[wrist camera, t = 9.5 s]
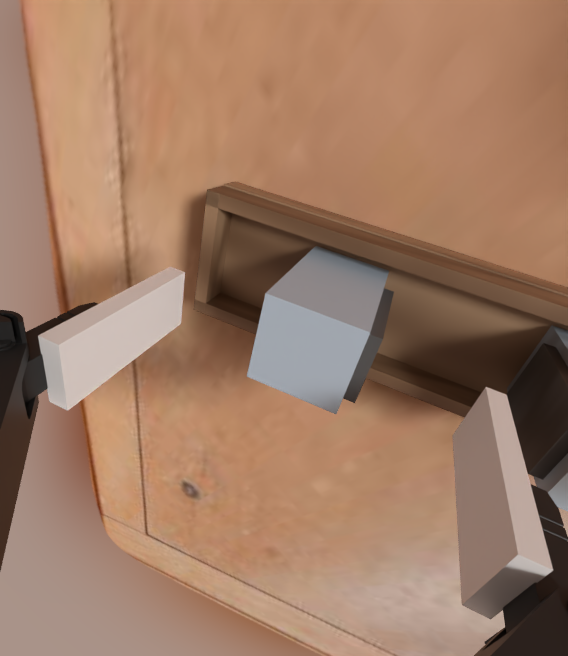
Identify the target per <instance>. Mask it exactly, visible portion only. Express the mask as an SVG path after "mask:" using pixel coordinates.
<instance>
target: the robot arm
mask: <svg viewBox="0 0 568 656" xmlns="http://www.w3.org/2000/svg"><path fill="white" fill-rule="evenodd" d="M184 280H185V272H183V271H180V270H178V269H175V268H173V267H169V268H167V269H165V270H163V271H161V272H159V273H157V274H155V275H153V276H151V277H149V278H147V279H146V280H144V281H142V282H140V283H138V284H136V285H134V286H132V287H130V288H128V289H126V290H124V291H123V292H121V293H119V294H117V295H115V296H113V297H111V298H109V299H107V300H105V301H103V302H101V303H100V304H97V303H95V302H93V303H89V304H84V305H80V306H78V307H76V308H74V309H72V310H70V311H68V312H67V313H64V314H62V315H60V316H58V317H57V318H54V319H52V320H50V321H48V322H46V323H44V324H42V325H40V326H38V327H36V328H33V329H31V330H29V331H27V332H25V327H24V322H23V318H22V316H21V315H20V314H18V313H16V312H13V311H6V310H0V570H1V566H2V561H3V557H4V553H5V548H6V544H7V539H8V535H9V531H10V526H11V522H12V518H13V513H14V509H15V504H16V500H17V496H18V491H19V487H20V482H21V478H22V474H23V469H24V464H25V460H26V456H27V452H28V447H29V443H30V439H31V434H32V430H33V425H34V421H35V417H36V412H37V408H38V403H39V401H38V395H39V394H40V393H42V392H43V391H44V390H46V389H47V391H48V397H49V402H51V403H54V404H55V405H57V406H59V407H61V408H63V409H65V410H69V409H70V408H72V407H73V406H74V405H75V404H77V403H78V402H80V401H81V400H82V399H83V398H85V397H86V396H87V395H89V394H90V393H91V392H93V391H94V390H95V389H97V388H98V387H99V386H100V385H102V384H103V383H104V382H106V381H107V380H108V379H110V378H111V377H112V376H113V375H115V374H116V373H117V372H119V371H120V370H121V369H123V368H124V367H125V366H126V365H128V364H129V363H130V362H132V361H133V360H134V359H136V358H137V357H138V356H140V355H141V354H142V353H143V352H145V351H146V350H147V349H149V348H150V347H151V346H153V345H154V344H155V343H156V342H158V341H159V340H160V339H162V338H163V337H164V336H166V335H167V334H168V333H169V332H171V331H172V330H173V329H175V328H176V327H177V326H179V325H180V324H181V317H182V305H183V292H184ZM453 451H454V469H455V488H456V506H457V525H458V543H459V561H460V580H461V598H462V605H463V606H465V607H467V608H469V609H471V610H473V611H475V612H477V613H479V614H481V615H483V616H485V617H487V618H489V619H492V618H493V617H494V616H496V615H497V614H498V613H499V612H501V611H502V610H503V613H504V620H505V628H503V629H502V630H500V631H499V632H498V633H496V634H495V635H494V636H492V637H491V638H490V639H488V640H487V641H485V644H486V645H485V646H484V647H483V648H481V649H480V650H479V651H478V652H477V653H476V654H475V655H474V656H568V537H567V534H566V531H565V528H563V526H564V524H563V521H562V518H561V515H560V512H559V509H558V507H557V506H556V504H555V503H554V501H553V500H552V498H551V497H550V495H549V494H548V492H547V491H545V490H543V489H541V488H538V487H536V486H533V485H531V484H530V481H529V477H528V473H527V469H526V466H525V462H524V458H523V454H522V451H521V447H520V443H519V439H518V435H517V432H516V428H515V424H514V420H513V417H512V413H511V409H510V405H509V402H508V398H507V395H506V394H503V393H501V392H498V391H495V390H493V389H490V388H488V387H486V388H485V389H484V390H483V392H482V393H481V395H480V396H479V398H478V399H477V401H476V402H475V404H474V405H473V406H472V408H471V409H470V411H469V412H468V414H467V415H466V417H465V418H464V420H463V421H462V422H461V424H460V425H459V427H458V428H457V430H456V431H455V433H454V434H453Z"/></svg>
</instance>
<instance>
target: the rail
mask: <svg viewBox="0 0 568 656" xmlns="http://www.w3.org/2000/svg"><path fill="white" fill-rule="evenodd" d="M315 246H318V247H321V248H324V249H327V250H330V251H332V252H335V253H338V254H341V255H344V256H347V257H350V258H353V259H356V260H359V261H362V262H365V263H368V264H371V265H374V266H376V267H379V268H382V269H385V270H388V271H389V273H388V277H387V280H386V283H385V286H384V288H385V289H388V290H391V291H394V294H393V298H392V303H391V307H390V311H389V315H388V320H387V324H386V328H385V333H384V337H383V340H382V343H381V345H380V347H379V349H378V352H377V354H376V356H375V358H374V361H373V363H372V365H371V367H370V370H369V372H368V374H367V376H366V378H367V379H369V380H372V381H374V382H377V383H379V384H382V385H384V386H387V387H389V388H392V389H395V390H397V391H400V392H402V393H405V394H407V395H410V396H412V397H415V398H417V399H420V400H422V401H425V402H427V403H430V404H432V405H435V406H437V407H440V408H442V409H445V410H447V411H450V412H452V413H455V414H457V415H460V416H462V417H466V415H467V414H468V412H469V411H470V409H471V408H472V406H473V405H474V404H475V402H476V401H477V399H478V398H479V396H480V395H481V393H482V392H483V390H484V389H485V388H486V387H488V388H490V389H493V390H495V391H498V392H501V393H503V394H506V395H507V398H508V402H509V405H510V409H511V413H512V417H513V420H514V424H515V428H516V432H517V435H518V439H519V443H520V447H521V451H522V454H523V458H524V462H525V465H526V469H527V472H528V474H530V475H532V476H534V479H535V483H536V486H537V487H538V488H541V489H543V490H545V491H547V492H548V494H549V495H550V497H551V498H552V500H553V501H554V503H555V504H556V506H557V507H559V508H561V509H564V510H566V511H568V288H567V287H564V286H561V285H558V284H555V283H552V282H548V281H545V280H542V279H539V278H536V277H533V276H530V275H527V274H523V273H520V272H517V271H514V270H511V269H508V268H505V267H501V266H498V265H495V264H492V263H489V262H486V261H483V260H479V259H476V258H473V257H470V256H467V255H464V254H461V253H458V252H454V251H451V250H448V249H445V248H442V247H439V246H436V245H432V244H429V243H426V242H423V241H420V240H417V239H414V238H410V237H407V236H404V235H401V234H398V233H395V232H392V231H389V230H385V229H382V228H379V227H376V226H373V225H370V224H367V223H363V222H360V221H357V220H354V219H351V218H348V217H345V216H341V215H338V214H335V213H332V212H329V211H326V210H323V209H320V208H316V207H313V206H310V205H307V204H304V203H301V202H298V201H294V200H291V199H288V198H285V197H282V196H279V195H276V194H272V193H269V192H266V191H263V190H260V189H257V188H254V187H251V186H247V185H244V184H241V183H238V182H231V183H227V184H224V186H221V187H217V188H212V189H208V190H207V196H206V205H205V214H204V223H203V232H202V240H201V249H200V258H199V267H198V276H197V285H196V293H195V302H194V310H196V311H198V312H201V313H203V314H206V315H208V316H211V317H213V318H216V319H218V320H221V321H223V322H226V323H228V324H231V325H233V326H236V327H238V328H241V329H244V330H246V331H249V332H251V333H254V334H256V333H257V329H258V324H259V320H260V316H261V311H262V307H263V302H264V298H265V293H266V292H267V291H268V290H269V289H271V288H272V287H273V286H274V285H275V284H276V283H277V282H278V281H279V280H280V279H281V278H282V277H283V276H284V275H285V274H286V273H288V272H289V271H290V270H291V269H292V268H293V267H294V266H295V265H296V264H297V263H298V262H299V261H300V260H301V259H302V258H303V257H305V256H306V255H307V254H308V253H309V252H310V251H311V250H312V249H313V248H314V247H315Z"/></svg>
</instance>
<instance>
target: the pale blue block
mask: <svg viewBox="0 0 568 656" xmlns="http://www.w3.org/2000/svg"><path fill="white" fill-rule="evenodd" d="M388 273H389V271H388V270H385V269H382V268H379V267H376V266H374V265H371V264H368V263H365V262H362V261H359V260H356V259H353V258H350V257H347V256H344V255H341V254H338V253H335V252H332V251H330V250H327V249H324V248H321V247H318V246H315V247H314V248H313V249H312V250H311V251H310V252H309V253H308V254H307V255H306V256H305V257H303V258H302V259H301V260H300V261H299V262H298V263H297V264H296V265H295V266H294V267H293V268H292V269H291V270H290V271H289V272H288V273H286V274H285V275H284V276H283V277H282V278H281V279H280V280H279V281H278V282H277V283H276V284H275V285H274V286H273V287H272V288H271V289H269V290H268V291H267V292H266V293H265V298H264V302H263V307H262V311H261V316H260V320H259V324H258V329H257V333H256V338H255V342H254V347H253V351H252V356H251V360H250V364H249V369H248V373H247V377H249V378H252V379H254V380H256V381H259V382H261V383H263V384H266V385H268V386H271V387H273V388H275V389H278V390H280V391H282V392H285V393H287V394H289V395H292V396H294V397H296V398H299V399H301V400H304V401H306V402H308V403H311V404H313V405H315V406H318V407H320V408H322V409H325V410H327V411H330V412H332V413H334V414H337V411H338V409H339V406H340V404H341V402H342V399H343V398H344V399H346V400H349V401H351V402H353V403H355V401H356V399H357V397H358V394H359V392H360V390H361V388H362V385H363V383H364V381H365V379H366V376H367V374H368V372H369V370H370V367H371V365H372V363H373V361H374V358H375V356H376V354H377V352H378V349H379V347H380V345H381V343H382V340H383V337H384V333H385V328H386V324H387V320H388V315H389V311H390V307H391V303H392V298H393V294H394V291H391V290H388V289H385V288H384V286H385V283H386V280H387V277H388Z"/></svg>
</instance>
